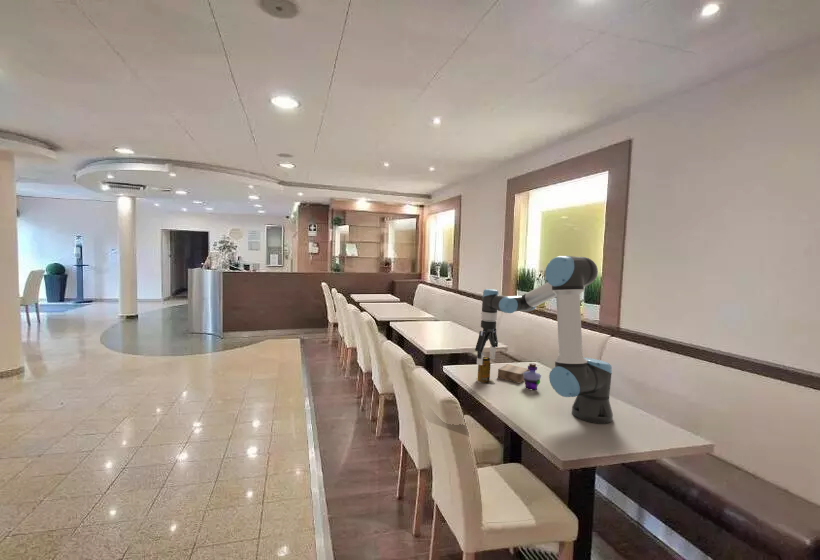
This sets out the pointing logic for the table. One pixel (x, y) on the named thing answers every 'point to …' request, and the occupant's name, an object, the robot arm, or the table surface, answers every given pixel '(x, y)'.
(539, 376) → the potion bottle
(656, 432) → the table surface
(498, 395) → the table surface
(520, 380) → the walnut block
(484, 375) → the condiment
